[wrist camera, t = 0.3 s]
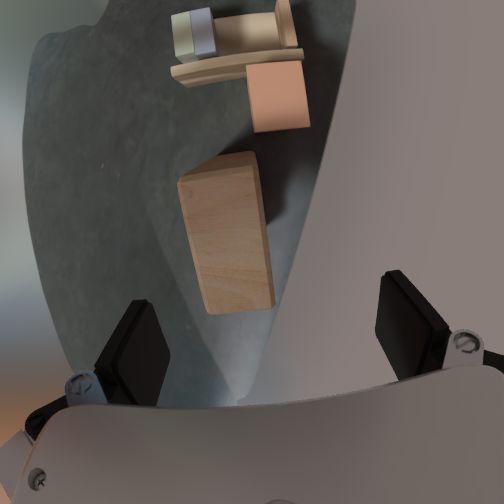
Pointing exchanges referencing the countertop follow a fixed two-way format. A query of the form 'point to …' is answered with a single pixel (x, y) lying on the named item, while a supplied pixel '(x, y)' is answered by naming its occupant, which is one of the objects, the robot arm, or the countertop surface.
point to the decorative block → (228, 233)
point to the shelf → (231, 43)
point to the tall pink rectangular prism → (277, 96)
